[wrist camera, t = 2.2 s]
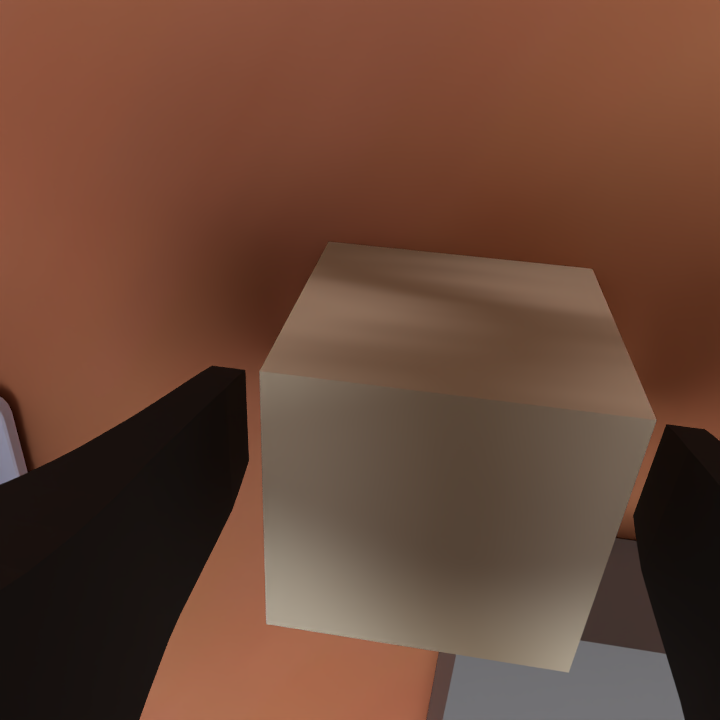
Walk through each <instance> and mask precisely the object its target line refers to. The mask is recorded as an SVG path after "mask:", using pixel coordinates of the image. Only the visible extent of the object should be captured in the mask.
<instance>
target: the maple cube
mask: <svg viewBox="0 0 720 720" xmlns="http://www.w3.org/2000/svg"><path fill="white" fill-rule="evenodd" d="M259 373H260V410H261V447H262V484H263V521H264V558H265V595H266V624H270V625H276V626H282V627H288V628H295V629H301V630H307V631H313V632H320V633H326V634H332V635H338V636H344V637H351V638H357V639H363V640H369V641H376V642H382V643H388V644H394V645H400V646H407V647H413V648H419V649H425V650H431V651H438V652H444V653H450V654H456V655H463V656H469V657H475V658H481V659H487V660H494V661H500V662H506V663H512V664H518V665H525V666H531V667H537V668H543V669H550V670H556V671H562V672H568V673H569V670H570V668H571V665H572V662H573V659H574V656H575V653H576V650H577V647H578V645H579V642H580V639H581V636H582V633H583V630H584V627H585V624H586V622H587V619H588V616H589V613H590V610H591V607H592V604H593V601H594V599H595V596H596V593H597V590H598V587H599V584H600V581H601V579H602V576H603V573H604V570H605V567H606V564H607V561H608V558H609V556H610V553H611V550H612V547H613V544H614V541H615V538H616V535H617V533H618V530H619V527H620V524H621V521H622V518H623V515H624V512H625V510H626V507H627V504H628V501H629V498H630V495H631V492H632V490H633V487H634V484H635V481H636V478H637V475H638V472H639V469H640V467H641V464H642V461H643V458H644V455H645V452H646V449H647V446H648V444H649V441H650V438H651V435H652V432H653V429H654V426H655V423H656V421H657V420H656V418H655V415H654V413H653V410H652V408H651V406H650V403H649V401H648V399H647V396H646V394H645V392H644V389H643V387H642V385H641V382H640V380H639V378H638V375H637V373H636V370H635V368H634V366H633V363H632V361H631V359H630V356H629V354H628V352H627V349H626V347H625V345H624V342H623V340H622V337H621V335H620V333H619V330H618V328H617V326H616V323H615V321H614V319H613V316H612V314H611V312H610V309H609V307H608V304H607V302H606V300H605V297H604V295H603V293H602V290H601V288H600V286H599V283H598V281H597V279H596V276H595V274H594V272H593V269H590V268H580V267H570V266H561V265H551V264H541V263H532V262H522V261H513V260H503V259H493V258H484V257H474V256H464V255H455V254H445V253H435V252H426V251H416V250H406V249H397V248H387V247H378V246H368V245H358V244H349V243H339V242H328V244H327V246H326V247H325V249H324V251H323V253H322V255H321V257H320V259H319V261H318V262H317V264H316V266H315V268H314V270H313V272H312V274H311V276H310V277H309V279H308V281H307V283H306V285H305V287H304V289H303V291H302V292H301V294H300V296H299V298H298V300H297V302H296V304H295V305H294V307H293V309H292V311H291V313H290V315H289V317H288V319H287V320H286V322H285V324H284V326H283V328H282V330H281V332H280V334H279V335H278V337H277V339H276V341H275V343H274V345H273V347H272V349H271V350H270V352H269V354H268V356H267V358H266V360H265V362H264V364H263V365H262V367H261V369H260V371H259Z"/></svg>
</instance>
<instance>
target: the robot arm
mask: <svg viewBox="0 0 720 720" xmlns="http://www.w3.org/2000/svg"><path fill="white" fill-rule="evenodd" d="M248 462H249V453H248V427H247V402H246V376H245V370H241V369H233V368H225V367H218V366H211V367H209V368H208V369H206V370H204V371H202V372H201V373H199V374H198V375H196V376H195V377H193V378H191V379H190V380H188V381H187V382H185V383H184V384H182V385H181V386H179V387H178V388H176V389H175V390H173V391H172V392H170V393H169V394H167V395H166V396H164V397H162V398H161V399H159V400H158V401H156V402H155V403H153V404H151V405H150V406H148V407H147V408H145V409H144V410H142V411H140V412H139V413H137V414H136V415H134V416H133V417H131V418H129V419H128V420H126V421H124V422H123V423H121V424H119V425H117V426H116V427H114V428H112V429H110V430H109V431H107V432H105V433H103V434H102V435H100V436H98V437H96V438H95V439H93V440H91V441H89V442H88V443H86V444H84V445H82V446H81V447H79V448H77V449H75V450H73V451H71V452H69V453H67V454H65V455H63V456H61V457H59V458H57V459H55V460H53V461H51V462H49V463H47V464H45V465H43V466H41V467H39V468H36V469H34V470H32V471H30V472H27V468H26V464H25V460H24V456H23V453H22V449H21V445H20V441H19V437H18V433H17V430H16V426H15V422H14V418H13V414H12V411H11V409H10V407H9V405H8V403H7V402H6V401H5V400H4V399H3V398H2V397H0V720H139V719H140V716H141V713H142V711H143V708H144V705H145V702H146V699H147V697H148V694H149V691H150V688H151V686H152V683H153V681H154V678H155V675H156V673H157V670H158V667H159V665H160V662H161V659H162V657H163V654H164V651H165V649H166V646H167V643H168V641H169V638H170V636H171V634H172V632H173V629H174V627H175V625H176V623H177V620H178V618H179V616H180V614H181V612H182V610H183V608H184V606H185V604H186V602H187V600H188V598H189V596H190V594H191V592H192V590H193V588H194V586H195V584H196V582H197V580H198V578H199V576H200V574H201V572H202V570H203V568H204V566H205V564H206V562H207V560H208V558H209V556H210V554H211V552H212V550H213V548H214V546H215V544H216V542H217V540H218V538H219V536H220V534H221V532H222V530H223V528H224V525H225V523H226V521H227V519H228V517H229V515H230V513H231V511H232V509H233V506H234V503H235V500H236V498H237V495H238V492H239V489H240V486H241V483H242V480H243V477H244V474H245V471H246V468H247V465H248ZM633 518H634V526H635V533H636V541H637V548H638V554H639V560H640V566H641V571H642V575H643V578H644V582H645V586H646V589H647V592H648V596H649V599H650V603H651V606H652V609H653V613H654V616H655V620H656V623H657V626H658V629H659V633H660V636H661V639H662V643H663V646H664V649H665V653H666V656H667V659H668V663H669V666H670V669H671V672H672V676H673V679H674V682H675V686H676V689H677V692H678V696H679V699H680V703H681V707H682V711H683V715H684V719H685V720H720V441H719V440H718V439H717V438H715V437H714V436H713V435H712V434H710V433H709V432H708V431H706V430H705V429H698V428H690V427H682V426H674V425H667V424H666V427H665V430H664V433H663V435H662V438H661V441H660V444H659V446H658V449H657V452H656V455H655V457H654V460H653V463H652V466H651V468H650V471H649V474H648V477H647V479H646V482H645V485H644V487H643V490H642V493H641V496H640V498H639V501H638V504H637V507H636V509H635V512H634V515H633Z"/></svg>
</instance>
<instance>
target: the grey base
mask: <svg viewBox="0 0 720 720" xmlns="http://www.w3.org/2000/svg"><path fill="white" fill-rule="evenodd" d="M426 720H685V719H684V715H683V711H682V707H681V703H680V699H679V696H678V692H677V689H676V686H675V682H674V679H673V676H672V672H671V669H670V666H669V663H668V659H667V656H666V653H665V649H664V646H663V643H662V639H661V636H660V633H659V629H658V626H657V623H656V620H655V616H654V613H653V609H652V606H651V603H650V599H649V596H648V592H647V589H646V586H645V582H644V578H643V575H642V571H641V566H640V560H639V554H638V548H637V541H633V540H626V539H619V538H615V541H614V544H613V547H612V550H611V553H610V556H609V558H608V561H607V564H606V567H605V570H604V573H603V576H602V579H601V581H600V584H599V587H598V590H597V593H596V596H595V599H594V601H593V604H592V607H591V610H590V613H589V616H588V619H587V622H586V624H585V627H584V630H583V633H582V636H581V639H580V642H579V645H578V647H577V650H576V653H575V656H574V659H573V662H572V665H571V668H570V670H569V673H568V672H562V671H556V670H550V669H543V668H537V667H531V666H525V665H518V664H512V663H506V662H500V661H494V660H487V659H481V658H475V657H469V656H463V655H456V654H450V653H444V652H439V655H438V660H437V666H436V671H435V676H434V682H433V687H432V693H431V698H430V703H429V709H428V714H427V719H426Z"/></svg>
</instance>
